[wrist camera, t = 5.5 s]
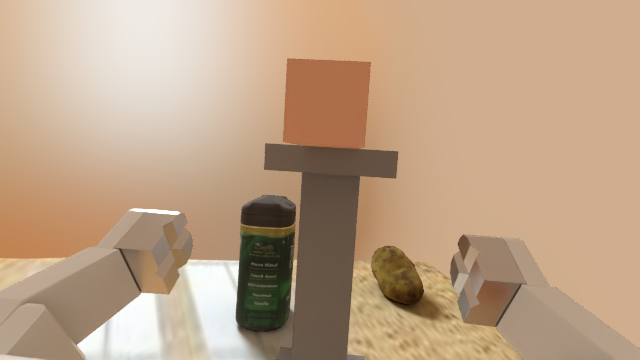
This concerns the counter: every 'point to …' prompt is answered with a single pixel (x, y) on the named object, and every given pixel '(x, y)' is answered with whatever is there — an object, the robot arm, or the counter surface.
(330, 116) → the block
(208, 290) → the counter surface
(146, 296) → the counter surface
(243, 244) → the coffee jar
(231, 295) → the counter surface
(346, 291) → the stand
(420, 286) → the potato
